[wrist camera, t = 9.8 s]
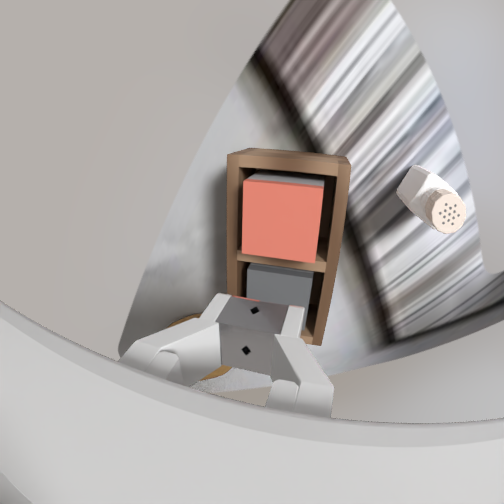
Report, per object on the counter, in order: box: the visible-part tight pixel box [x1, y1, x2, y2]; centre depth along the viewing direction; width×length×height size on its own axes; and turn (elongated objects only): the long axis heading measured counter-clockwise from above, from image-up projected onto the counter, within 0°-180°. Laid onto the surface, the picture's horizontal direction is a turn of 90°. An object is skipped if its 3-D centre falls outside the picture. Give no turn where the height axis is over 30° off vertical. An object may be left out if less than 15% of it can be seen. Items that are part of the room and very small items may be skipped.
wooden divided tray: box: [227, 148, 351, 346], centre depth 29 cm, size 10×18×7 cm, turn 178°
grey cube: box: [247, 262, 314, 330], centre depth 31 cm, size 6×6×6 cm
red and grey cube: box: [242, 170, 325, 263], centre depth 25 cm, size 6×6×6 cm
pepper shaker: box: [396, 165, 466, 234], centre depth 22 cm, size 4×4×10 cm
